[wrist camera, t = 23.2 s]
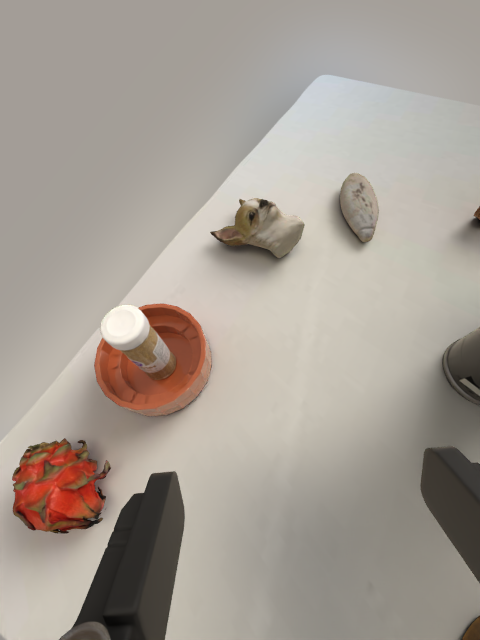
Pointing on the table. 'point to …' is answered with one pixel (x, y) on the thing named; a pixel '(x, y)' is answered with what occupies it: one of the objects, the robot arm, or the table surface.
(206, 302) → the table surface
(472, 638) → the wooden container
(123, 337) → the sprinkles bottle
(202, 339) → the bowl
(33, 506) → the dragon fruit
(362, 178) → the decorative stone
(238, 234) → the ceramic sculpture
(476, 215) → the tin
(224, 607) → the table surface
